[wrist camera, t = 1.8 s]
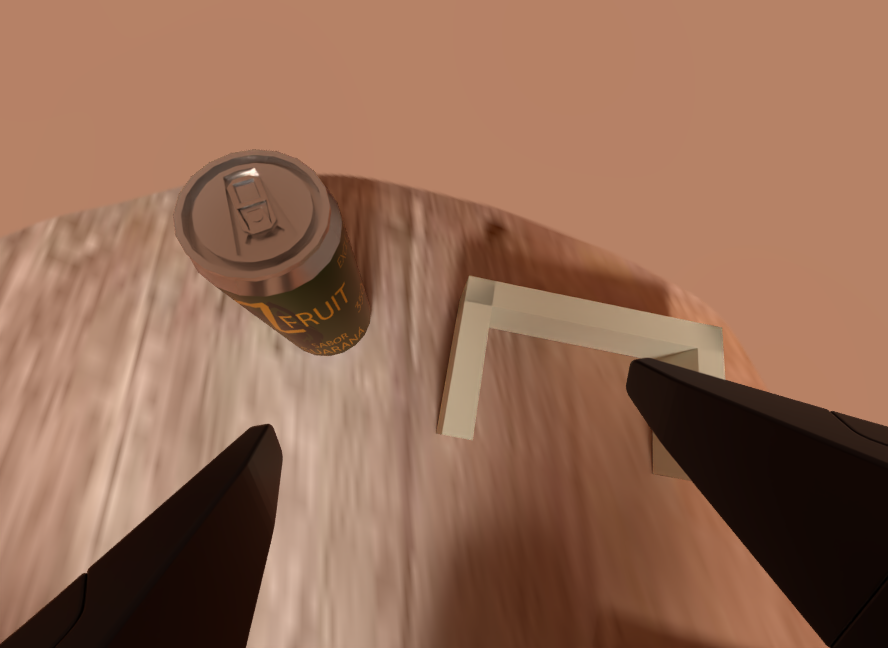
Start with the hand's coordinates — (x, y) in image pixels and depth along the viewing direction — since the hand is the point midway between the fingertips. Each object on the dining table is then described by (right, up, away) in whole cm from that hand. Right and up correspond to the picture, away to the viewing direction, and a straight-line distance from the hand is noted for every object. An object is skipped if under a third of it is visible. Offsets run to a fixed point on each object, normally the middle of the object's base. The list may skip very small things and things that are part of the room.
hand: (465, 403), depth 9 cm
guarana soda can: (-8, +2, +15) cm, 17 cm away
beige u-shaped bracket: (+7, -3, +14) cm, 16 cm away
